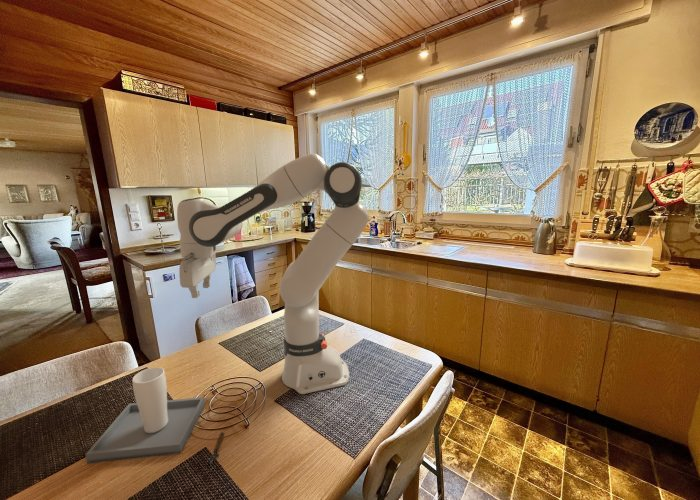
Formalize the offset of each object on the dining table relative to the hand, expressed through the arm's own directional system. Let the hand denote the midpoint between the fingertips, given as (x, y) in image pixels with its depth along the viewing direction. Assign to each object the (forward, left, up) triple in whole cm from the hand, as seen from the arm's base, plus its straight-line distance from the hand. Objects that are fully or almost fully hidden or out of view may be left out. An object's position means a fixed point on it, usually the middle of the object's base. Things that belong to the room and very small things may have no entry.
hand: (201, 292), depth 92 cm
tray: (+6, +24, -29) cm, 38 cm away
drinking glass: (+5, +23, -28) cm, 37 cm away
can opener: (-12, +32, -30) cm, 45 cm away
